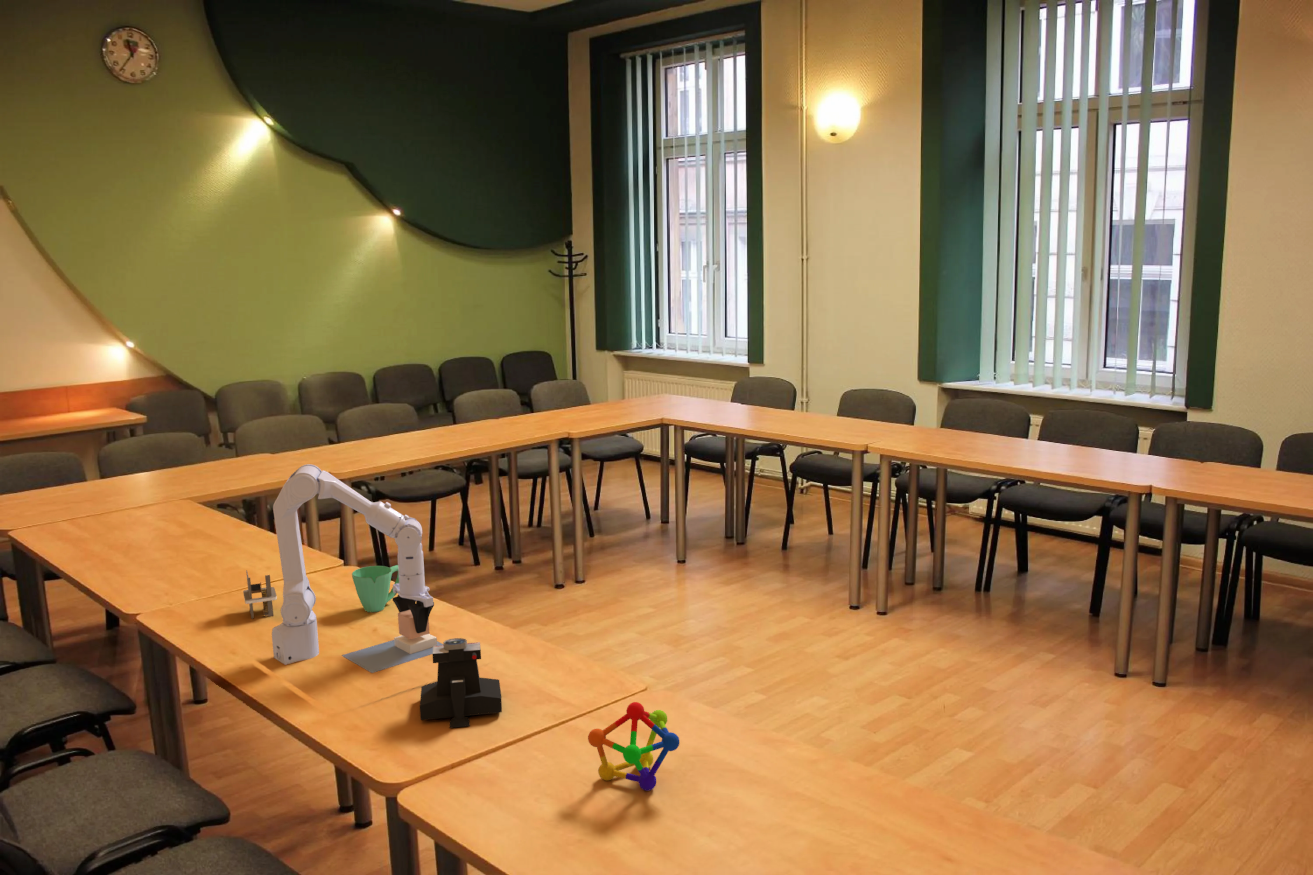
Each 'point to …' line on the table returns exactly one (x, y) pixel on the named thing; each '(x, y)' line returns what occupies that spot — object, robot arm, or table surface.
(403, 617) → the terracotta block
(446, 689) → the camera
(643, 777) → the educational toy
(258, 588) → the architectural model
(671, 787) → the table surface
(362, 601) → the mug
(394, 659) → the board
